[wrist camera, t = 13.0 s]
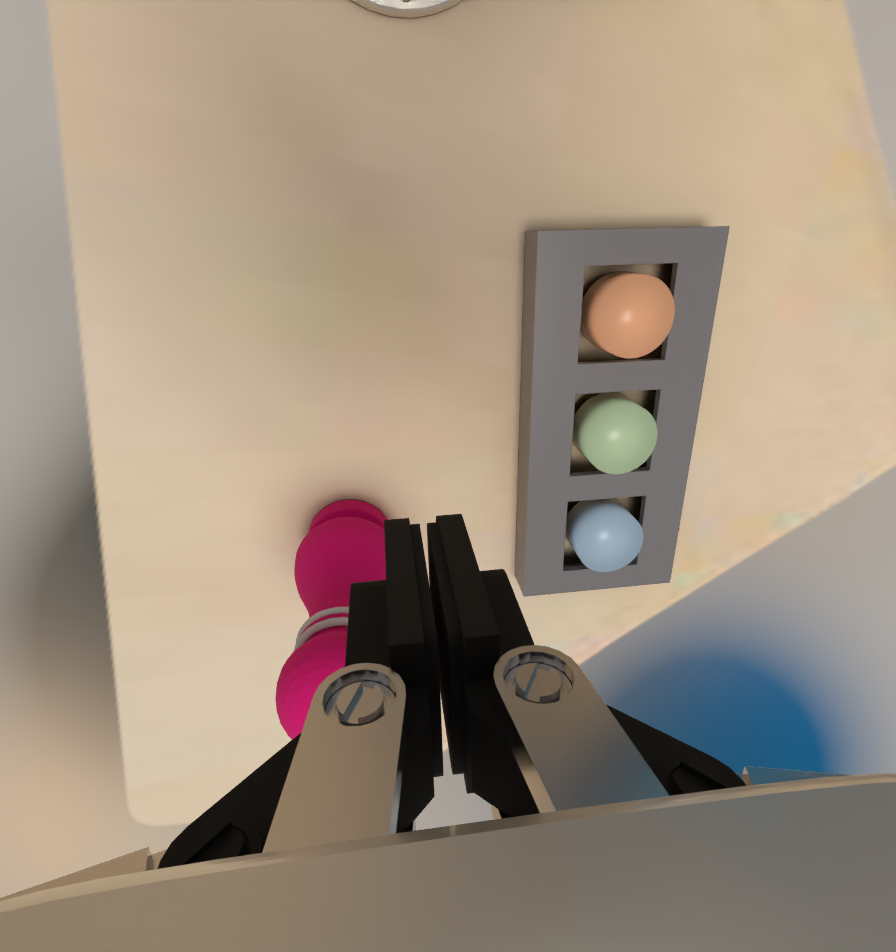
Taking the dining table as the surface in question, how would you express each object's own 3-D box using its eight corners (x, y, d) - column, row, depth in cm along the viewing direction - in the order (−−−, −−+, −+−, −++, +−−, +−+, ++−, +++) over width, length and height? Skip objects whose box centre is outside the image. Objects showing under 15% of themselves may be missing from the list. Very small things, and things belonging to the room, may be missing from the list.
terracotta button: (582, 272, 35) (600, 275, 32) (656, 270, 35) (680, 272, 33) (576, 351, 37) (593, 360, 34) (647, 348, 37) (668, 356, 35)
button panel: (525, 231, 35) (538, 231, 32) (702, 227, 36) (729, 226, 33) (514, 574, 45) (523, 596, 42) (652, 562, 46) (669, 582, 44)
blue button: (566, 497, 41) (580, 515, 38) (629, 492, 42) (647, 510, 39) (562, 553, 43) (575, 575, 40) (622, 548, 44) (639, 569, 41)
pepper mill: (410, 507, 41) (438, 717, 23) (381, 584, 44) (385, 828, 26) (317, 481, 40) (268, 685, 21) (291, 562, 42) (228, 808, 24)
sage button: (573, 394, 38) (589, 406, 35) (641, 390, 38) (662, 402, 36) (568, 460, 40) (583, 476, 37) (633, 456, 40) (652, 471, 38)
